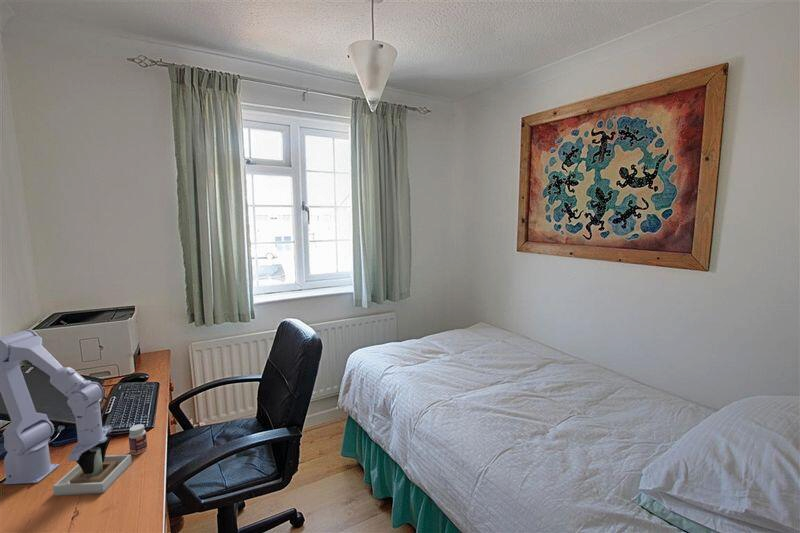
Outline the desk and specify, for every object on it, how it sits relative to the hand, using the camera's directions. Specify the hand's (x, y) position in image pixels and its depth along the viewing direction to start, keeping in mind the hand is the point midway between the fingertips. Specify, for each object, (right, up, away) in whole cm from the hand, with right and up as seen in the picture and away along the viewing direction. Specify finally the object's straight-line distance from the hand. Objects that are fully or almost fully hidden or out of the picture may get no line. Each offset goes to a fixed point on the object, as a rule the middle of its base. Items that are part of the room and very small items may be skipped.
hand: (94, 468), depth 112 cm
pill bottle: (+4, -2, +14) cm, 14 cm away
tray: (0, -3, 0) cm, 3 cm away
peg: (0, -3, 0) cm, 3 cm away
